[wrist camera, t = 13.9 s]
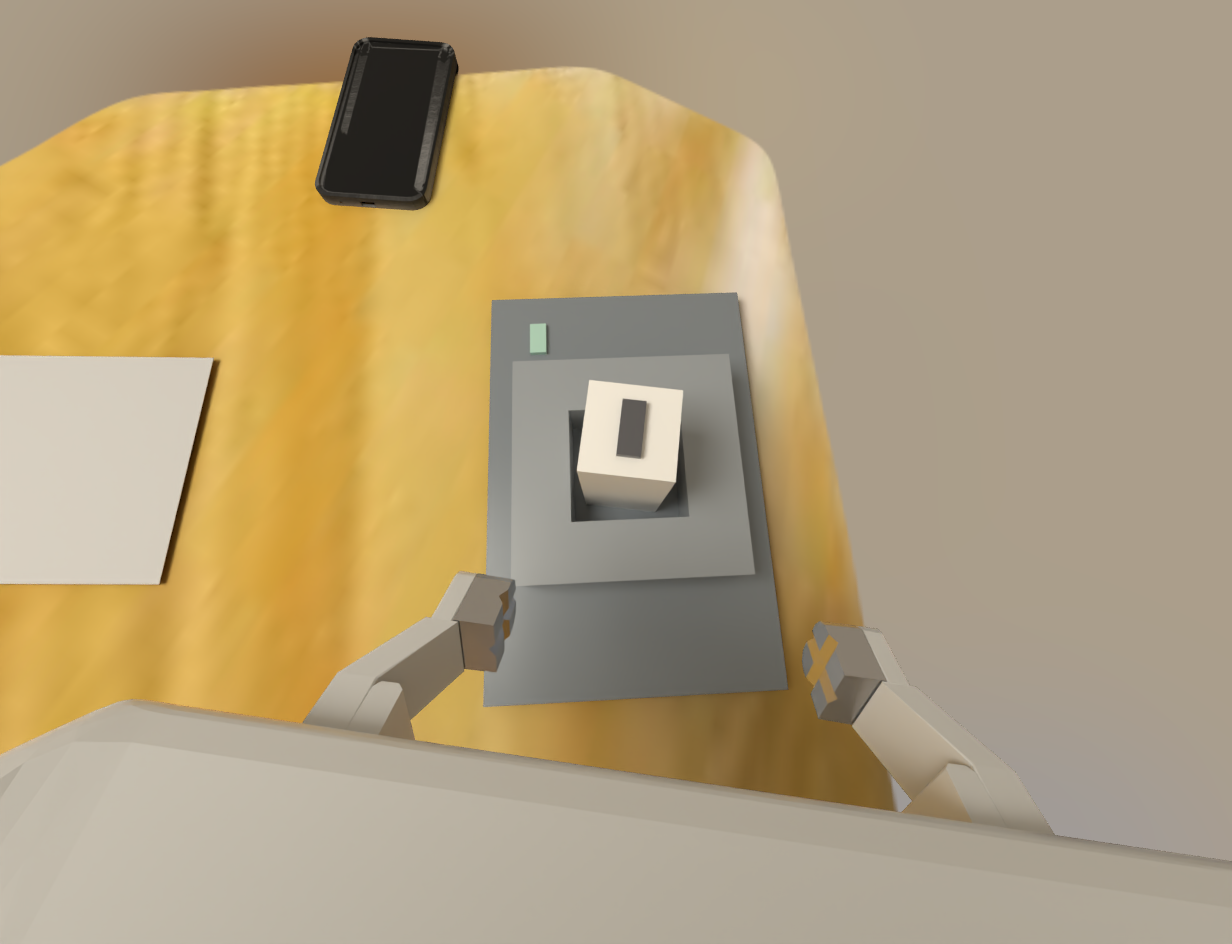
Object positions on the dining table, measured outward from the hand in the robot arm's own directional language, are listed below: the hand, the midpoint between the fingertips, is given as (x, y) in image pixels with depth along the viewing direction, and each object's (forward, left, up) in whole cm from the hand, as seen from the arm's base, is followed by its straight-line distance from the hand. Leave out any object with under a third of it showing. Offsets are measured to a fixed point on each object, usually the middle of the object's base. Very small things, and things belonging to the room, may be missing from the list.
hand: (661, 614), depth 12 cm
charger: (+7, 0, -13) cm, 15 cm away
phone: (+35, +16, -14) cm, 41 cm away
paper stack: (+14, +30, -14) cm, 36 cm away
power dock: (+7, 0, -14) cm, 15 cm away
